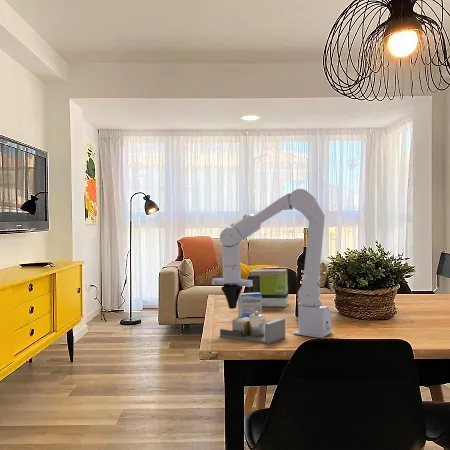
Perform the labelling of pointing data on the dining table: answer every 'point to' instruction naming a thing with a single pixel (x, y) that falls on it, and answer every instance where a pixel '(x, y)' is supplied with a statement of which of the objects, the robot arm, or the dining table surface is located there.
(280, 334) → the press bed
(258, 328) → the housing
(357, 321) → the dining table surface
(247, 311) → the medicine box
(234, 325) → the block
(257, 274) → the tea box
